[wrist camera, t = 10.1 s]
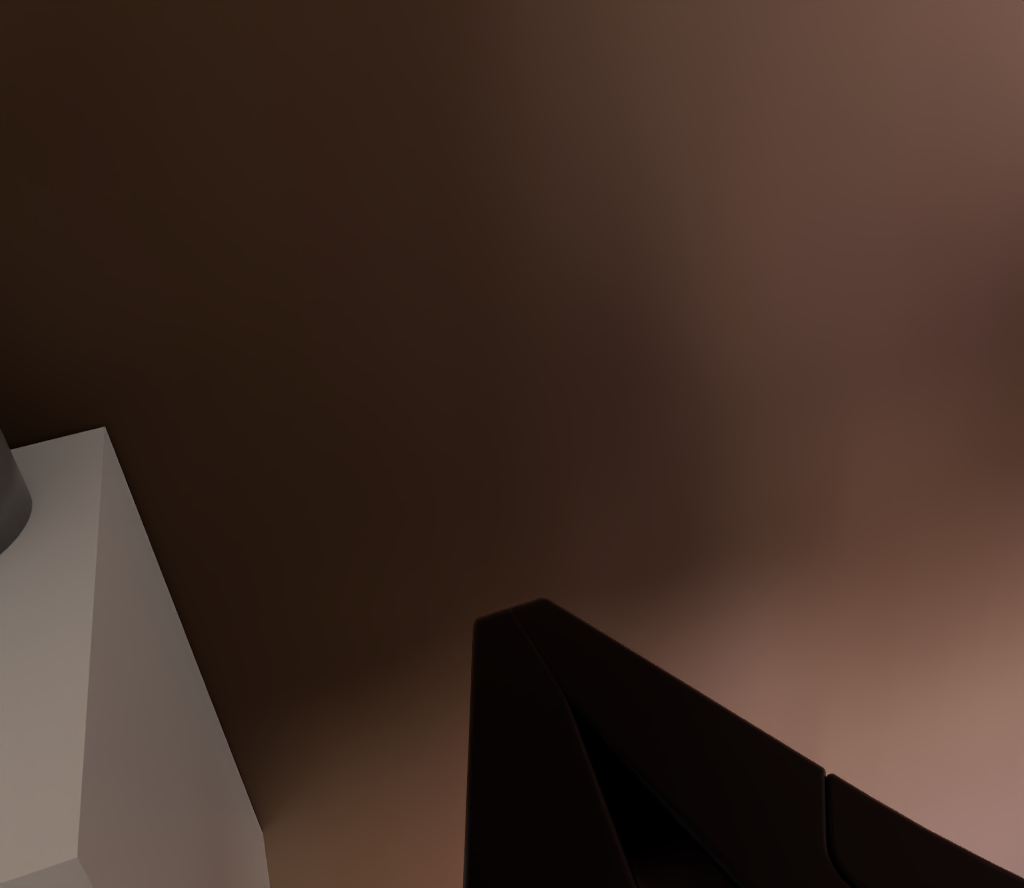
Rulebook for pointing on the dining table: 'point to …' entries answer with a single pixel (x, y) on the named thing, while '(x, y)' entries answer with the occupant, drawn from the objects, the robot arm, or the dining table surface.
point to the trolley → (104, 695)
